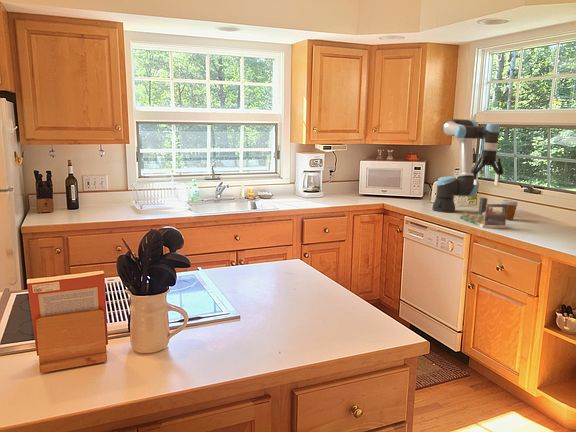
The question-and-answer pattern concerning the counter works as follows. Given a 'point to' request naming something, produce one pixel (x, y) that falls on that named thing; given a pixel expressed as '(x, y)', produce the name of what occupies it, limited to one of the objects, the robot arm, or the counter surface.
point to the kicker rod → (484, 208)
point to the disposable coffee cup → (509, 208)
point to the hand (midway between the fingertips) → (485, 185)
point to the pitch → (488, 218)
